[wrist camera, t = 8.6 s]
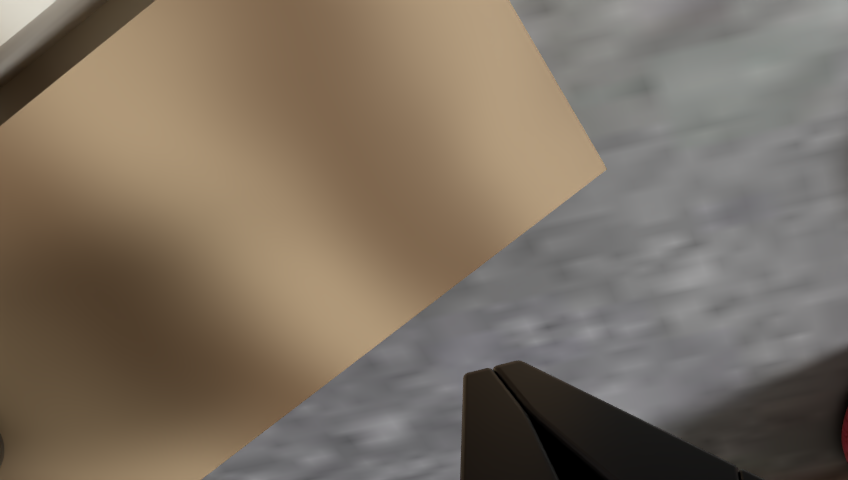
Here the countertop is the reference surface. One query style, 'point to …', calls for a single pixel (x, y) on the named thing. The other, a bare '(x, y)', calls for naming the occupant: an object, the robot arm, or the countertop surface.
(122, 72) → the door and jamb
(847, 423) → the wine bottle
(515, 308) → the countertop surface
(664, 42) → the countertop surface
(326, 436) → the countertop surface
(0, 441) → the latch bar
